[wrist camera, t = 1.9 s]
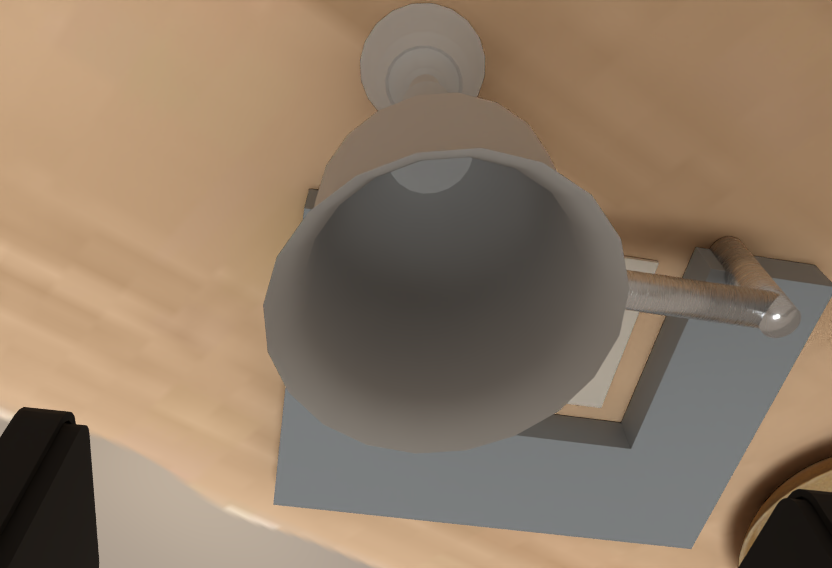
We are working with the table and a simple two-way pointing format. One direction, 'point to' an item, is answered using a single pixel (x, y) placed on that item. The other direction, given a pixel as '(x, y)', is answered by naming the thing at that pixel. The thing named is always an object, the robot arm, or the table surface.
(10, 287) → the table surface
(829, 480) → the plant saucer
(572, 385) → the chalice
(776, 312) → the metal bar handle
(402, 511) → the grey rectangular frame
